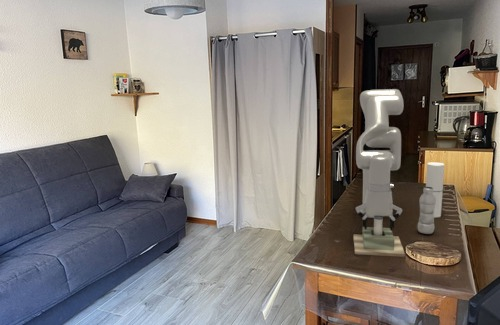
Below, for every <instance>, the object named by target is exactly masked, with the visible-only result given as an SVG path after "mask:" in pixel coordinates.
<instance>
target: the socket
mask: <svg viewBox="0 0 500 325" xmlns="http://www.w3.org/2000/svg"><path fill="white" fill-rule="evenodd" d="M352 235H353V237H352V238H353V245H354V246H353V248H354V255H363V256H364V255H366V256H367V255H368V256H380V257H381V256H384V257H395V258H396V257H397V258H398V257H399V258H406V253H405V251H404V247H403V245H402V243H401V239H400V236H395V235H394V233H393V229H392V230H390V227H382V236H375V235H374V226H373V227H372V226H371V227H368V226H367V229H365V228H364V226H362V233H361V234H355V233H354V234H352Z"/></svg>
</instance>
